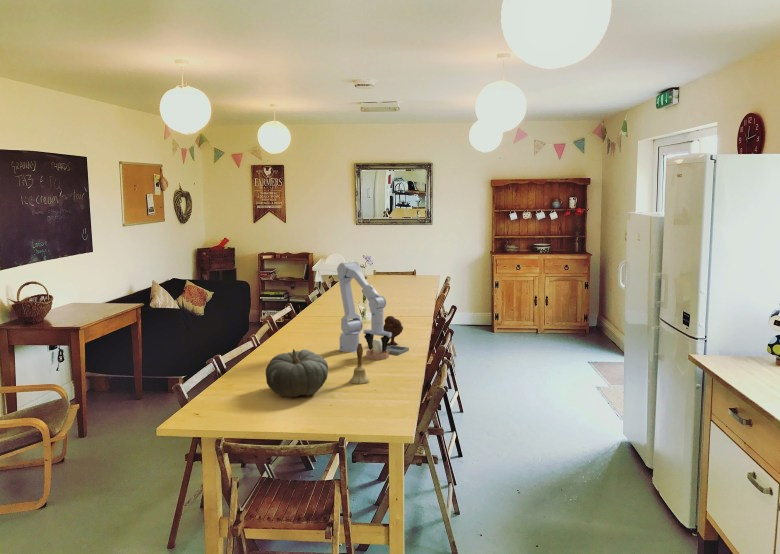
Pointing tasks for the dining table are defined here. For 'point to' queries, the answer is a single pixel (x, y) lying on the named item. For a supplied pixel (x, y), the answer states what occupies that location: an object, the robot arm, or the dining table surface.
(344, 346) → the robot arm
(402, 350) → the tray
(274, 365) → the gourd
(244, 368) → the dining table surface
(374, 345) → the peg
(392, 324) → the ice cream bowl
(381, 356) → the terracotta bowl
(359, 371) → the hand bell
